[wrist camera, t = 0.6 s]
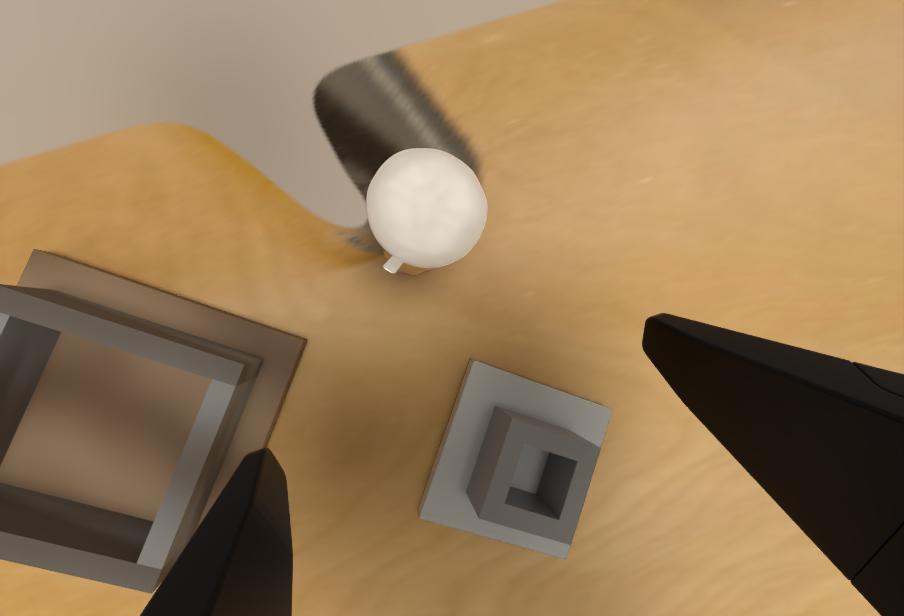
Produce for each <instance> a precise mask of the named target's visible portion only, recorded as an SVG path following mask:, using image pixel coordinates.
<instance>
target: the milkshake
mask: <svg viewBox="0 0 904 616" xmlns="http://www.w3.org/2000/svg"><path fill="white" fill-rule="evenodd" d="M366 204H367V215H368V221H369V225H370V228H371V230H372V233H373V235H374V236H375V238H376V240H377V241H378V242H379V244H380V246H381V248H382V251H383V253H384V255H385V258H386V259H387V260H388V261H387V262H386V263H385V264H384V265H383V266H382V268H383V269H385V270H386V271H388V272H390V273H392V274H395V273H396V272H397V271H398V272H402V273H406V274H411V275H415V276H416V275H418V274H420V273H423V272H425V271H427V270H430V269H435V268H439V267H443V266H446V265H449V264H452V263H454V262H456V261H458V260H460V259H461V258H463V257H464V256H465V255H467V254H468V253H469V252H470V251H471V249H472V248H473V247H474V246H475V244H476V243H477V241H478V240H479V238H480V236H481V234H482V232H483V230H484V227H485V224H486V219H487V210H488V208H487V200H486V197H485V194H484V192H483V190H482V187H481V185H480V183H479V181H478V179H477V177H476V175H475V174H474V172H473V171H472V170H471V169H470V168H469V167H468V166H467V165H466V164H465V163H463V162H462V161H460V160H459V159H457V158H456V157H454V156H452V155H450V154H448V153H446V152H444V151H441V150H436V149H429V148H414V149H407V150H403V151H401V152H398V153H396V154H395V155H393V156H391V157H390V158H389V159H388V160H386V161H385V162H384V164H383V165H382V166H381V167H380V168H379V170H378V171H377V173H376V174H375V176H374V177H373V179H372V181H371V183H370V185H369V188H368V191H367V200H366Z"/></svg>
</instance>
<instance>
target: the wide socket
mask: <svg viewBox="0 0 904 616" xmlns="http://www.w3.org/2000/svg"><path fill="white" fill-rule="evenodd" d="M306 342H307V339H304V338H301V337H298V336H295V335H292V334H289V333H286V332H283V331H280V330H277V329H274V328H271V327H268V326H266V325H263V324H260V323H257V322H254V321H251V320H248V319H245V318H242V317H239V316H236V315H233V314H230V313H227V312H224V311H221V310H218V309H216V308H213V307H210V306H207V305H204V304H201V303H198V302H195V301H192V300H189V299H186V298H183V297H180V296H177V295H174V294H171V293H168V292H166V291H163V290H160V289H157V288H154V287H151V286H148V285H145V284H142V283H139V282H136V281H133V280H130V279H127V278H124V277H121V276H118V275H116V274H113V273H110V272H107V271H104V270H101V269H98V268H95V267H92V266H89V265H86V264H83V263H80V262H77V261H74V260H71V259H68V258H66V257H63V256H60V255H57V254H54V253H51V252H46V251H41V250H36V249H34V250H33V252H32V254H31V256H30V258H29V260H28V263H27V265H26V267H25V269H24V271H23V273H22V275H21V277H20V280H19V282H18V284H17V286H12V285H2V284H0V559H2V560H6V561H11V562H15V563H20V564H24V565H28V566H33V567H37V568H42V569H46V570H50V571H55V572H59V573H64V574H68V575H72V576H77V577H81V578H86V579H90V580H95V581H99V582H103V583H108V584H112V585H117V586H121V587H125V588H130V589H134V590H139V591H143V592H147V593H153V592H154V590H155V589H156V588H157V587H158V586H159V585H160V583H161V582H162V581H163V580H164V578H165V577H166V575H167V574H168V572H169V571H170V569H171V567H172V566H173V564H174V563H175V561H176V560H177V558H178V557H179V555H180V554H181V552H182V551H183V549H184V548H185V546H186V545H187V543H188V542H189V540H190V538H191V537H192V535H193V534H194V532H195V531H196V529H197V528H198V526H199V525H200V523H201V522H202V520H203V519H204V517H205V516H206V514H207V513H208V511H209V509H210V508H211V506H212V505H213V503H214V502H215V500H216V499H217V497H218V496H219V494H220V493H221V491H222V490H223V488H224V487H225V485H226V484H227V482H228V480H229V479H230V477H231V476H232V474H233V473H234V471H235V470H236V468H237V467H238V465H239V464H240V462H241V461H242V459H243V458H244V456H245V455H246V454H248V453H250V452H253V451H256V450H259V449H262V448H265V447H266V444H267V442H268V439H269V437H270V434H271V432H272V429H273V427H274V424H275V421H276V419H277V416H278V414H279V411H280V409H281V406H282V404H283V401H284V398H285V396H286V393H287V391H288V388H289V386H290V383H291V380H292V378H293V375H294V373H295V370H296V368H297V365H298V363H299V360H300V357H301V355H302V352H303V350H304V347H305V345H306Z"/></svg>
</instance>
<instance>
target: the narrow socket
mask: <svg viewBox="0 0 904 616" xmlns="http://www.w3.org/2000/svg"><path fill="white" fill-rule="evenodd" d="M612 410H613V409H610V408H608V407H605V406H602V405H599V404H597V403H594V402H591V401H588V400H585V399H582V398H580V397H577V396H574V395H571V394H568V393H566V392H563V391H560V390H557V389H554V388H551V387H549V386H546V385H543V384H540V383H537V382H535V381H532V380H529V379H526V378H523V377H521V376H518V375H515V374H512V373H509V372H506V371H504V370H501V369H498V368H495V367H492V366H490V365H487V364H484V363H481V362H478V361H475V360H473V359H470V361H469V364H468V367H467V370H466V373H465V376H464V378H463V381H462V384H461V387H460V390H459V393H458V396H457V399H456V401H455V404H454V407H453V410H452V413H451V416H450V419H449V422H448V424H447V427H446V430H445V433H444V436H443V439H442V442H441V445H440V447H439V450H438V453H437V456H436V459H435V462H434V465H433V467H432V470H431V473H430V476H429V479H428V482H427V485H426V488H425V490H424V493H423V496H422V499H421V502H420V505H419V508H418V513H419V518H420V519H424V520H427V521H431V522H434V523H438V524H441V525H445V526H449V527H452V528H456V529H459V530H463V531H466V532H470V533H473V534H477V535H480V536H484V537H487V538H491V539H495V540H498V541H502V542H505V543H509V544H512V545H516V546H519V547H523V548H526V549H530V550H533V551H537V552H541V553H544V554H548V555H551V556H555V557H558V558H562V559H565V560H566V559H567V555H568V552H569V549H570V546H571V543H572V540H573V536H574V533H575V530H576V527H577V524H578V520H579V517H580V514H581V511H582V507H583V504H584V501H585V498H586V494H587V491H588V488H589V485H590V481H591V478H592V475H593V472H594V468H595V465H596V462H597V459H598V455H599V452H600V449H601V445H602V442H603V439H604V436H605V432H606V429H607V426H608V423H609V419H610V416H611V413H612Z"/></svg>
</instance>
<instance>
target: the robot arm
mask: <svg viewBox="0 0 904 616" xmlns="http://www.w3.org/2000/svg"><path fill="white" fill-rule="evenodd" d="M642 347H643V350H644V352H645V354H646V355H647V356H648V358H649V359H650V360H651V362H652V363H653V364H654V366H655V367H656V368H657V369H658V371H659V372H660V373H661V375H662V376H663V377H664V379H665V380H666V381H667V383H668V384H669V385H670V386H671V388H672V389H673V390H674V392H675V393H676V394H677V395H678V397H679V398H680V399H681V400H682V402H683V403H684V404H685V405H686V406H687V407H688V408H689V410H690V411H691V412H692V413H693V414H694V415H695V416H696V417H697V418H698V419H699V420H700V421H701V422H702V424H703V425H704V426H705V427H706V428H707V429H708V430H709V431H710V432H711V433H712V434H713V435H714V436H715V437H716V439H717V440H718V441H719V442H720V443H721V444H722V445H723V446H724V447H725V448H726V449H727V450H728V451H729V452H730V454H731V455H732V456H733V457H734V458H735V459H736V460H737V461H738V462H739V463H740V464H741V465H742V466H743V467H744V469H745V470H746V471H747V472H748V473H749V474H750V475H751V476H752V477H753V478H754V479H755V480H756V481H757V482H758V484H759V485H760V486H761V487H762V488H763V489H764V490H765V491H766V492H767V493H768V494H769V495H770V496H771V497H772V499H773V500H774V501H775V502H776V503H777V504H778V505H779V506H780V507H781V508H782V509H783V510H784V511H785V512H786V514H787V515H788V516H789V517H790V518H791V519H792V520H793V521H794V522H795V523H796V524H797V525H798V526H799V528H800V529H801V530H802V531H803V532H804V533H805V534H806V535H807V536H808V537H809V538H810V539H811V540H812V541H813V543H814V544H815V545H816V546H817V547H818V548H819V549H820V550H821V551H822V552H823V553H824V554H825V555H826V556H827V558H828V559H829V560H830V561H831V562H832V563H833V564H834V565H835V566H836V567H837V568H838V569H839V570H840V571H841V573H842V574H843V575H844V576H845V577H846V578H847V579H848V580H851V584H852V585H853V586H854V587H855V588H856V589H857V590H858V591H859V592H860V593H861V594H862V595H863V596H864V598H865V599H866V600H867V601H868V602H869V603H870V604H871V605H872V606H873V607H874V608H875V609H876V610H877V611H878V613H879V614H880V615H881V616H904V374H900V373H896V372H892V371H888V370H884V369H880V368H876V367H872V366H868V365H865V364H861V363H857V362H852V363H851V362H850V361H849V360H845V359H841V358H837V357H833V356H830V355H826V354H822V353H818V352H814V351H810V350H806V349H802V348H798V347H795V346H791V345H787V344H783V343H779V342H775V341H771V340H767V339H764V338H760V337H756V336H752V335H748V334H744V333H740V332H736V331H732V330H729V329H725V328H721V327H717V326H713V325H709V324H705V323H701V322H698V321H694V320H690V319H686V318H682V317H678V316H674V315H670V314H667V313H660V314H657V315H654V316H651V317H649V318H647V320H646V321H645V327H644V333H643V340H642ZM292 579H293V550H292V536H291V525H290V514H289V503H288V491H287V481H286V476H285V473H284V471H283V469H282V467H281V466H280V464H279V463H278V461H277V459H276V458H275V456H274V455H273V453H272V452H271V450H270V449H268V448H262V449H259V450H256V451H253V452H250V453H248V454H246V455H245V456H244V458H243V459H242V461H241V462H240V464H239V465H238V467H237V468H236V470H235V471H234V473H233V474H232V476H231V477H230V479H229V480H228V482H227V484H226V485H225V487H224V488H223V490H222V491H221V493H220V494H219V496H218V497H217V499H216V500H215V502H214V503H213V505H212V506H211V508H210V509H209V511H208V513H207V514H206V516H205V517H204V519H203V520H202V522H201V523H200V525H199V526H198V528H197V529H196V531H195V532H194V534H193V535H192V537H191V538H190V540H189V542H188V543H187V545H186V546H185V548H184V549H183V551H182V552H181V554H180V555H179V557H178V558H177V560H176V561H175V563H174V564H173V566H172V567H171V569H170V571H169V572H168V574H167V575H166V577H165V578H164V580H163V581H162V583H161V584H160V586H159V587H158V589H157V590H156V592H155V593H154V595H153V596H152V598H151V600H150V601H149V603H148V604H147V606H146V607H145V609H144V610H143V612H142V613H141V615H140V616H292Z"/></svg>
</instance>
